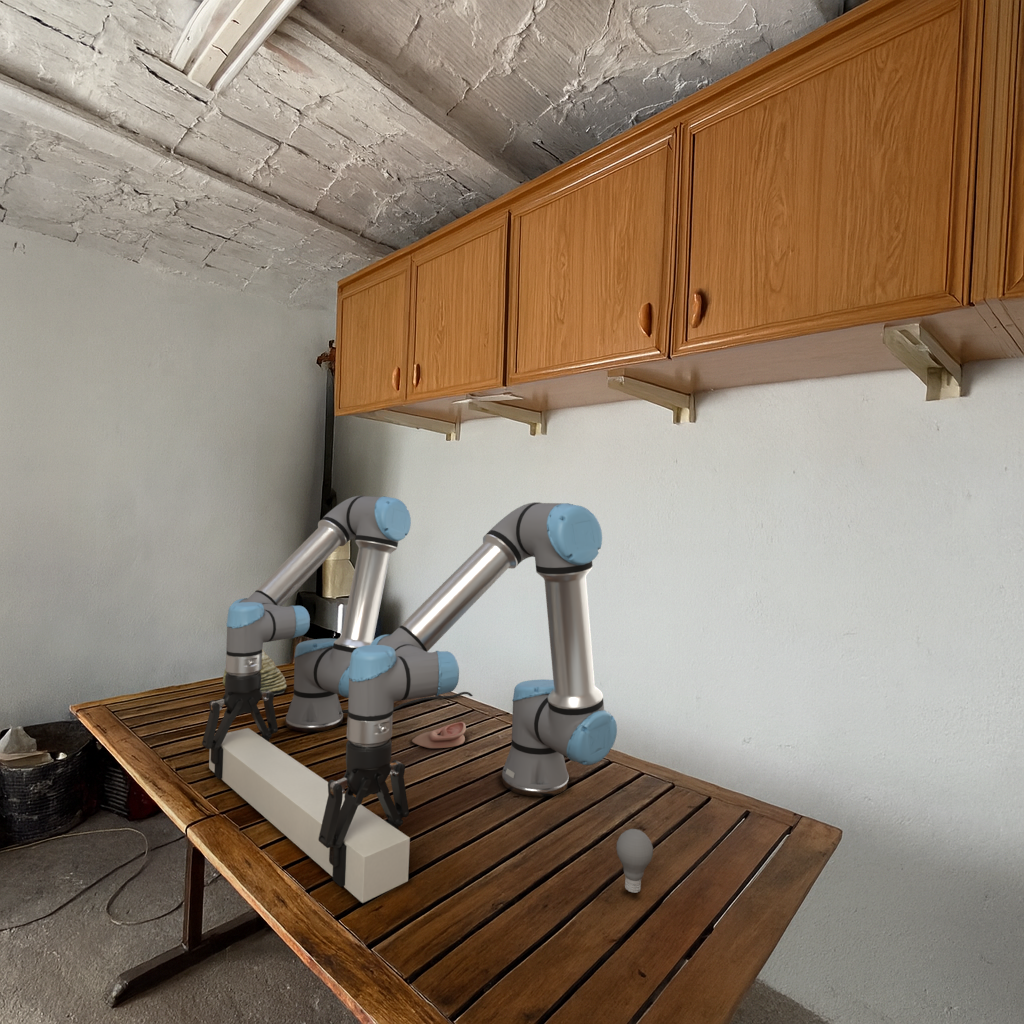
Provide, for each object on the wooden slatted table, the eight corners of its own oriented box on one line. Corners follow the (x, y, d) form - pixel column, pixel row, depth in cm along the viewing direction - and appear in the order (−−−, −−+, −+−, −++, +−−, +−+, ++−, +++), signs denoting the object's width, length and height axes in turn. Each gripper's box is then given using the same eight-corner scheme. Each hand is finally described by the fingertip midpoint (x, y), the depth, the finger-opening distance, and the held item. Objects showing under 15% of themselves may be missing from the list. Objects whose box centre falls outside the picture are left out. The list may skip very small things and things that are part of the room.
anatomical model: (408, 730, 163) (423, 715, 174) (407, 745, 163) (422, 730, 174) (457, 736, 160) (469, 721, 171) (457, 752, 160) (469, 735, 171)
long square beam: (208, 768, 145) (209, 736, 145) (247, 758, 151) (248, 727, 151) (362, 903, 100) (364, 857, 99) (408, 881, 106) (410, 837, 106)
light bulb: (610, 879, 108) (613, 822, 108) (644, 879, 109) (647, 822, 109) (619, 902, 102) (622, 840, 102) (655, 901, 103) (658, 840, 103)
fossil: (218, 695, 195) (220, 647, 195) (278, 685, 208) (279, 640, 207) (228, 703, 189) (230, 653, 188) (289, 692, 201) (290, 645, 201)
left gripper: (199, 684, 133) (195, 790, 133) (296, 667, 148) (292, 763, 148) (187, 675, 138) (183, 778, 138) (281, 661, 153) (278, 753, 154)
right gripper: (322, 763, 97) (316, 909, 97) (433, 731, 112) (428, 857, 112) (298, 747, 102) (293, 886, 102) (408, 719, 117) (403, 840, 118)
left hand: (240, 770), depth 143 cm, fingers closed on long square beam, 9 cm apart
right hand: (363, 871), depth 107 cm, fingers closed on long square beam, 9 cm apart
